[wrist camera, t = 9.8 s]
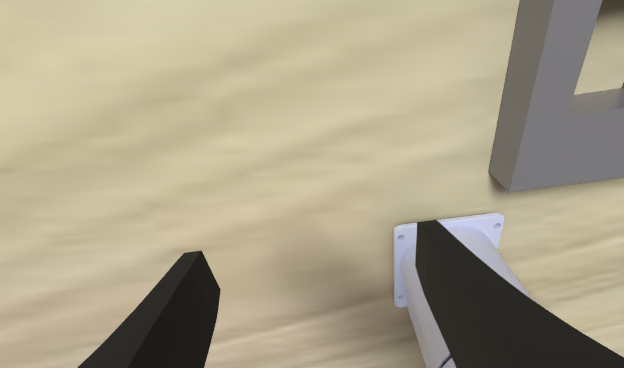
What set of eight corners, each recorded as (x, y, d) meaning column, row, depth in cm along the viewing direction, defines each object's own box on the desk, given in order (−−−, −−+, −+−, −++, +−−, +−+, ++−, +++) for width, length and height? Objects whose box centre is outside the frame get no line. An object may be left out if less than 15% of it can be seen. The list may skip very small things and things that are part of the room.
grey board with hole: (628, 152, 21) (665, 172, 18) (488, 171, 21) (509, 192, 19) (777, -179, 13) (873, -211, 10) (545, -134, 13) (591, -157, 11)
